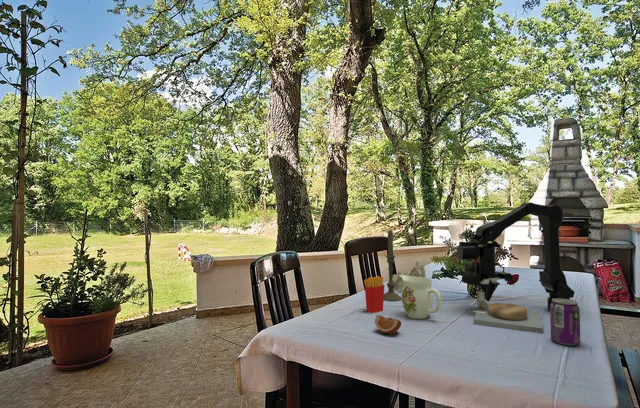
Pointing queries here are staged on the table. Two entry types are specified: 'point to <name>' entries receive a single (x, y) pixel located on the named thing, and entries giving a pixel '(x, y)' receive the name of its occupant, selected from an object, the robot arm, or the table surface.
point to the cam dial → (501, 309)
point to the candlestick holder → (390, 259)
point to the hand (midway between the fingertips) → (487, 300)
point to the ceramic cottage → (414, 272)
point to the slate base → (510, 321)
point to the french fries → (374, 294)
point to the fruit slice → (387, 324)
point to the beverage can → (565, 321)
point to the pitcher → (418, 297)
